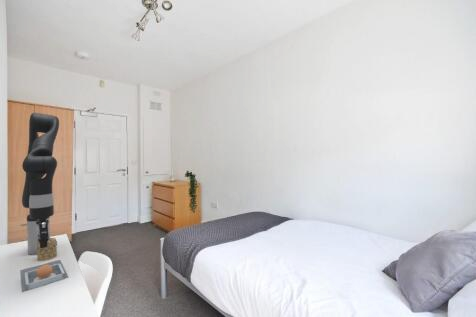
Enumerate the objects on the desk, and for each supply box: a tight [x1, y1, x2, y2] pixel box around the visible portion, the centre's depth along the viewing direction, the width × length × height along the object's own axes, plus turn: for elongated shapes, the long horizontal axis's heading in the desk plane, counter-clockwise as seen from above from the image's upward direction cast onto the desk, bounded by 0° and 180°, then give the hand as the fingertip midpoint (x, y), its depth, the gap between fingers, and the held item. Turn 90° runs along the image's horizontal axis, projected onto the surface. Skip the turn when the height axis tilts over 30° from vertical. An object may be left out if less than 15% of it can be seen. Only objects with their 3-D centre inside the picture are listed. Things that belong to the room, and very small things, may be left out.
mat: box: [19, 259, 69, 293], centre depth 98 cm, size 24×14×1 cm, turn 45°
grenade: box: [36, 233, 58, 262], centre depth 114 cm, size 8×7×15 cm
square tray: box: [25, 263, 66, 292], centre depth 94 cm, size 14×12×2 cm
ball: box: [36, 265, 52, 278], centre depth 94 cm, size 5×5×5 cm
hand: (42, 244), depth 94 cm, fingers open, 8 cm apart
